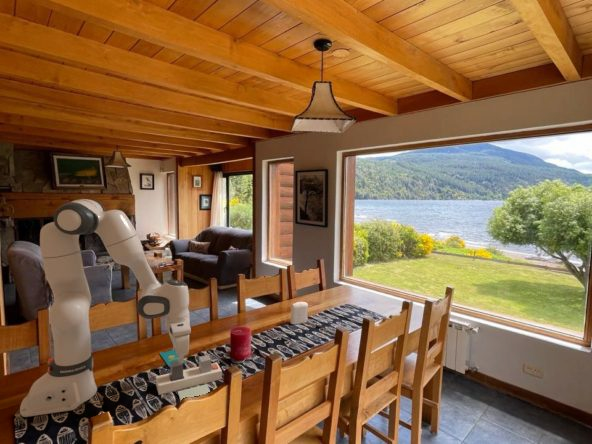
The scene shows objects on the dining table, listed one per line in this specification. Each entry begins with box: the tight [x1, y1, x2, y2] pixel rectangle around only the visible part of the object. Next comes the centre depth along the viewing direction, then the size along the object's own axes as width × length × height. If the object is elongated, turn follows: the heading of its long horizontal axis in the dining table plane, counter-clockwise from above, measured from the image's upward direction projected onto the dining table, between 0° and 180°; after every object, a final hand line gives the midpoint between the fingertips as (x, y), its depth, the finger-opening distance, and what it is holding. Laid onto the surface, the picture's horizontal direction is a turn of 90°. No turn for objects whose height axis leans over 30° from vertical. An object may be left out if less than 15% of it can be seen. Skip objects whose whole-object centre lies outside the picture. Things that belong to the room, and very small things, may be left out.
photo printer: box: [289, 301, 309, 325], centre depth 196 cm, size 10×4×12 cm, turn 116°
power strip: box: [155, 354, 223, 396], centre depth 134 cm, size 24×7×8 cm, turn 120°
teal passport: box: [159, 348, 186, 368], centre depth 151 cm, size 7×1×15 cm
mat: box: [177, 383, 211, 402], centre depth 127 cm, size 11×7×1 cm, turn 120°
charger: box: [169, 361, 184, 381], centre depth 131 cm, size 4×4×9 cm
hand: (178, 356), depth 131 cm, fingers open, 8 cm apart
